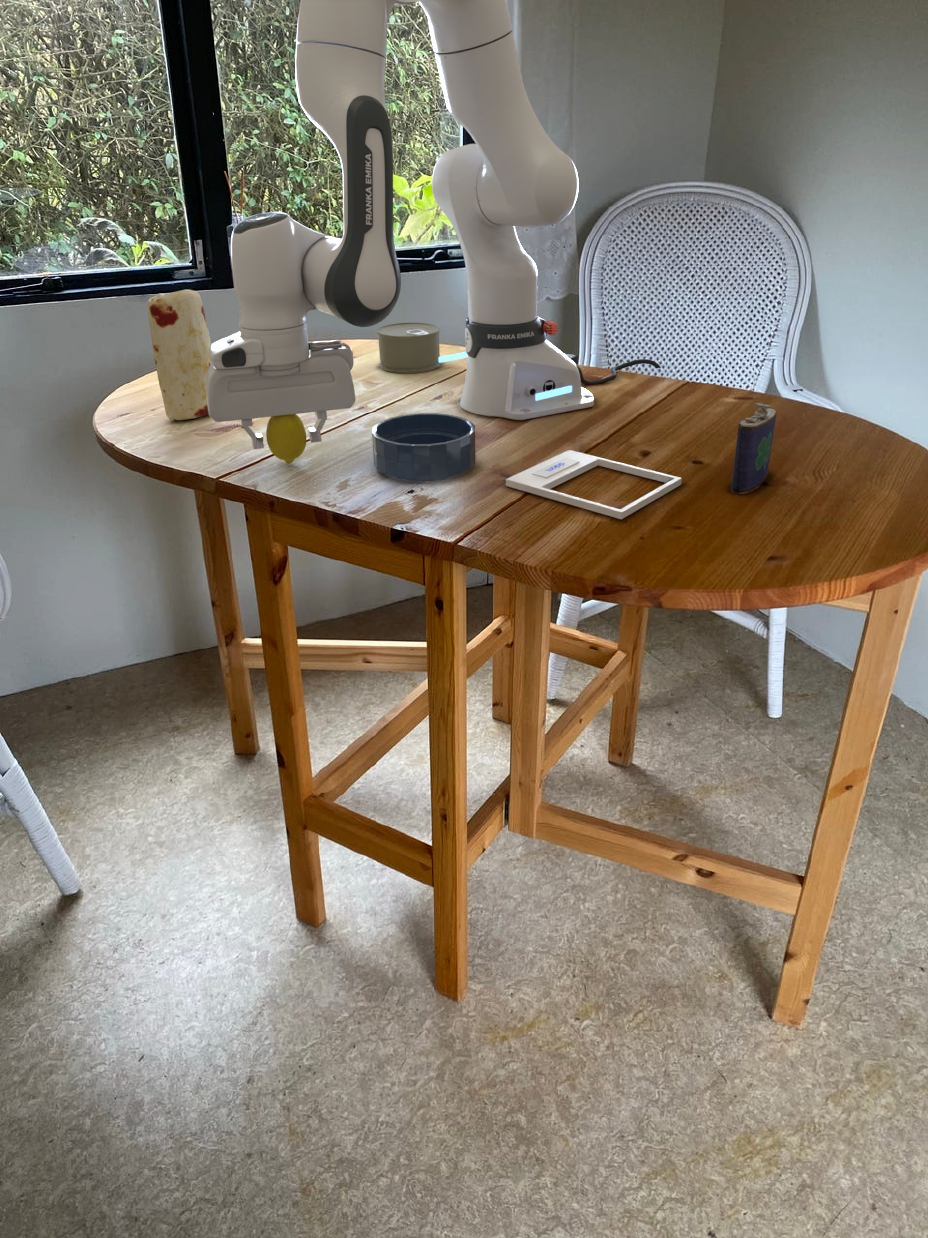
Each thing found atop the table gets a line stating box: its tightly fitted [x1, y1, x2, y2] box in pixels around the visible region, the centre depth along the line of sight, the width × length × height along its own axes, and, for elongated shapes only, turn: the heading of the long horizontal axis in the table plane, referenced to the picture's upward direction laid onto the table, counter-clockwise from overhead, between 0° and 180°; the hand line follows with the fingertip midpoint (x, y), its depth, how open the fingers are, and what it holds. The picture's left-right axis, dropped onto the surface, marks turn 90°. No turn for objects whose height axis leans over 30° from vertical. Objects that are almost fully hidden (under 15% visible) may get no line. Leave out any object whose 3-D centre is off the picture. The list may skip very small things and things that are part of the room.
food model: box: [147, 289, 212, 421], centre depth 147 cm, size 10×7×20 cm
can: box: [376, 322, 441, 374], centre depth 177 cm, size 12×12×7 cm
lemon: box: [265, 414, 307, 464], centre depth 130 cm, size 6×6×8 cm
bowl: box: [371, 412, 476, 482], centre depth 128 cm, size 14×14×6 cm
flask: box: [730, 402, 777, 495], centre depth 119 cm, size 9×3×11 cm, turn 144°
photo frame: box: [505, 449, 683, 520], centre depth 122 cm, size 15×1×18 cm
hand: (287, 444), depth 130 cm, fingers open, 7 cm apart
